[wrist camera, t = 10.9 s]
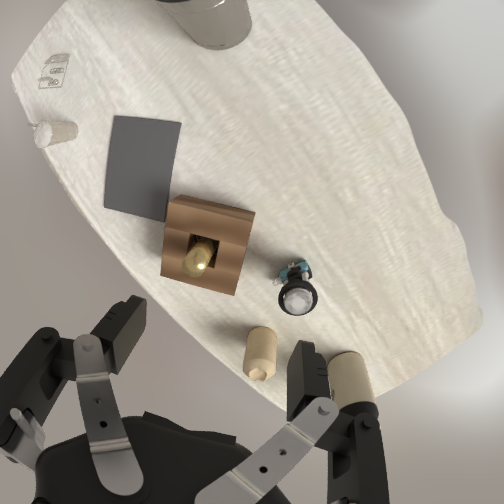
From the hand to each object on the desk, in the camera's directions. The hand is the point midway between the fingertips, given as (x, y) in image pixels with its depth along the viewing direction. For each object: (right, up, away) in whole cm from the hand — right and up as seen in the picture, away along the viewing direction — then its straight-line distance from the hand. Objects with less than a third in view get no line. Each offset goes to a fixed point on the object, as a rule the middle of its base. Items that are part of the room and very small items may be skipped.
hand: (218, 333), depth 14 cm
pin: (-5, +6, +31) cm, 32 cm away
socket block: (-5, +6, +31) cm, 32 cm away
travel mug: (+21, -19, +39) cm, 49 cm away
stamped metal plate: (-37, +39, +21) cm, 57 cm away
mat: (-16, +18, +27) cm, 36 cm away
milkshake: (-31, +26, +25) cm, 47 cm away
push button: (+8, +1, +32) cm, 33 cm away
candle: (+4, -12, +38) cm, 40 cm away
